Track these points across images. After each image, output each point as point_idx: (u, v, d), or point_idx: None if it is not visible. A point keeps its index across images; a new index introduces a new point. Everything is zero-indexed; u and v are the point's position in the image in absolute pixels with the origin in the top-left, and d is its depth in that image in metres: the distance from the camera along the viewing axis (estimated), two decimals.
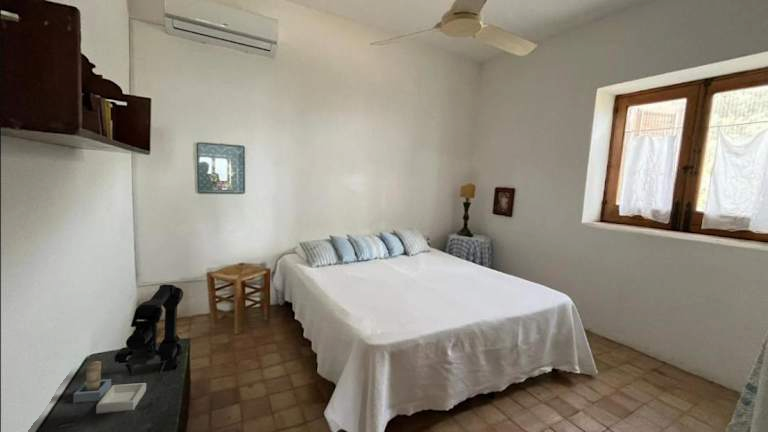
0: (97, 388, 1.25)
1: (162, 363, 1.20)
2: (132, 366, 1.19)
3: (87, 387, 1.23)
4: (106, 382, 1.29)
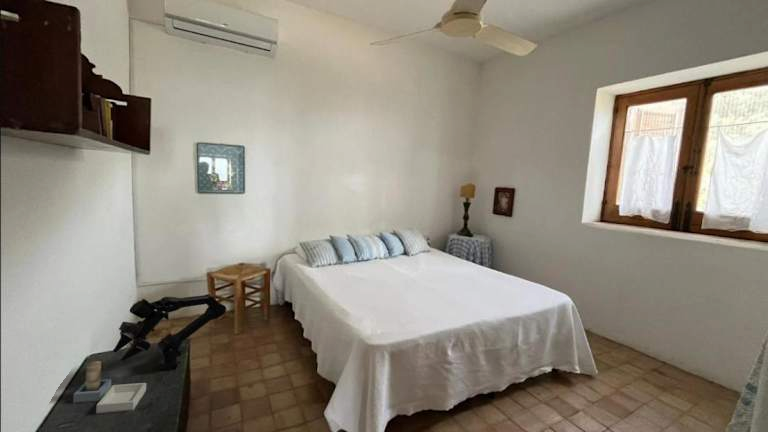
0: (97, 388, 1.25)
1: (129, 349, 1.29)
2: (121, 345, 1.35)
3: (87, 387, 1.23)
4: (106, 382, 1.29)
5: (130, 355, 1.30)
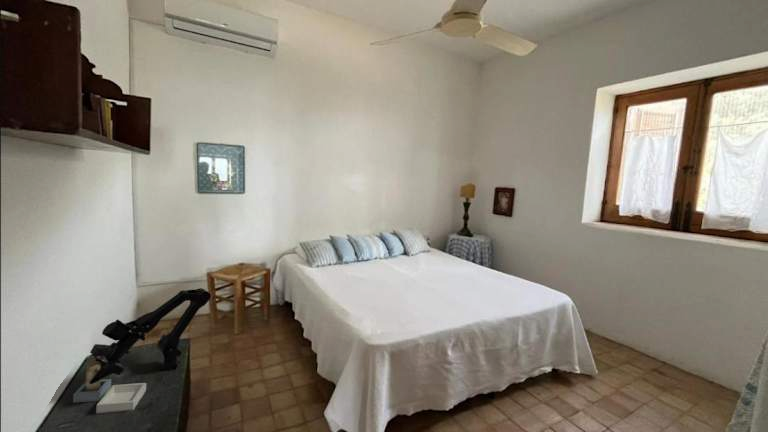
0: (97, 388, 1.25)
1: (99, 371, 1.24)
2: None
3: (87, 387, 1.23)
4: (106, 382, 1.29)
5: (100, 378, 1.24)
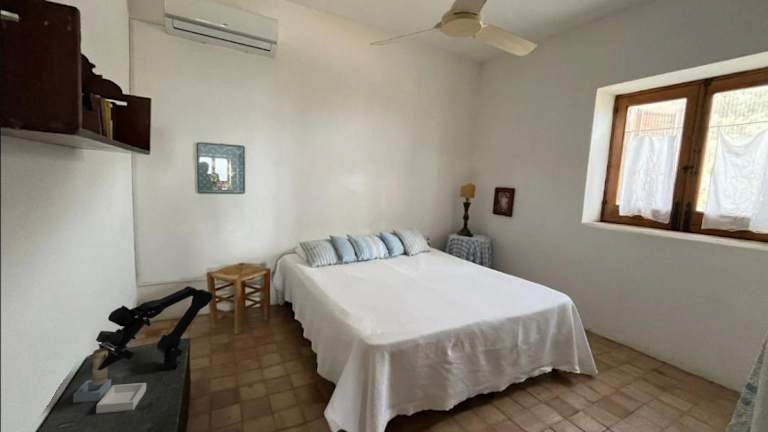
0: (105, 375, 1.24)
1: (108, 357, 1.22)
2: None
3: (95, 374, 1.21)
4: (106, 382, 1.29)
5: (108, 364, 1.23)
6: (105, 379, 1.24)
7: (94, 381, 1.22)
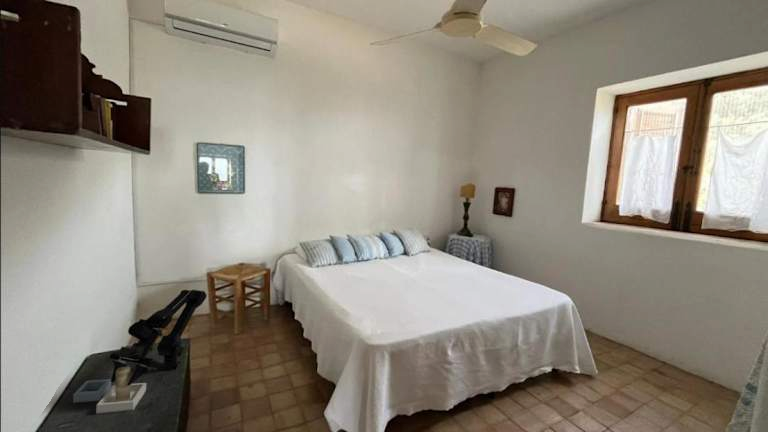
0: (129, 391, 1.24)
1: (136, 371, 1.23)
2: None
3: (120, 392, 1.22)
4: (106, 382, 1.29)
5: (136, 378, 1.24)
6: (129, 396, 1.25)
7: (119, 400, 1.22)
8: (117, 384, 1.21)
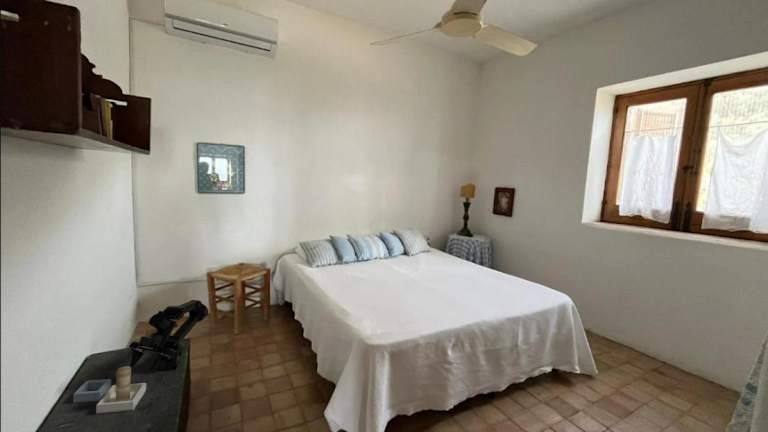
0: (129, 392, 1.24)
1: (157, 360, 1.32)
2: (135, 360, 1.33)
3: (120, 393, 1.22)
4: (106, 382, 1.29)
5: (157, 365, 1.33)
6: (129, 396, 1.25)
7: (119, 400, 1.22)
8: (118, 384, 1.21)
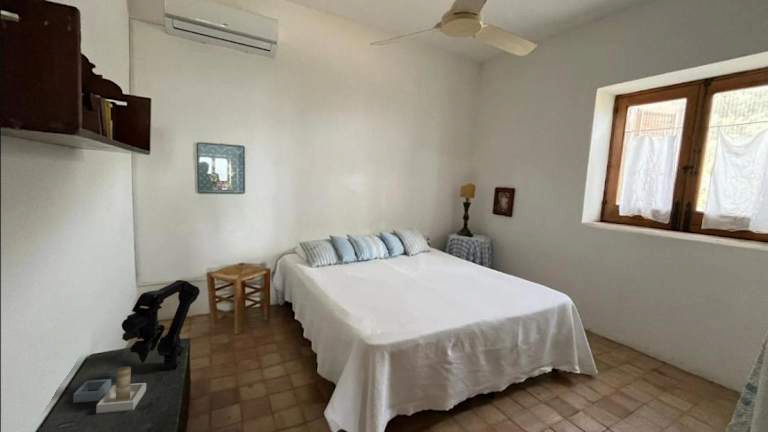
0: (129, 392, 1.24)
1: None
2: (153, 343, 1.38)
3: (120, 393, 1.22)
4: (106, 382, 1.29)
5: (144, 357, 1.28)
6: (129, 396, 1.25)
7: (119, 400, 1.22)
8: (117, 384, 1.21)
